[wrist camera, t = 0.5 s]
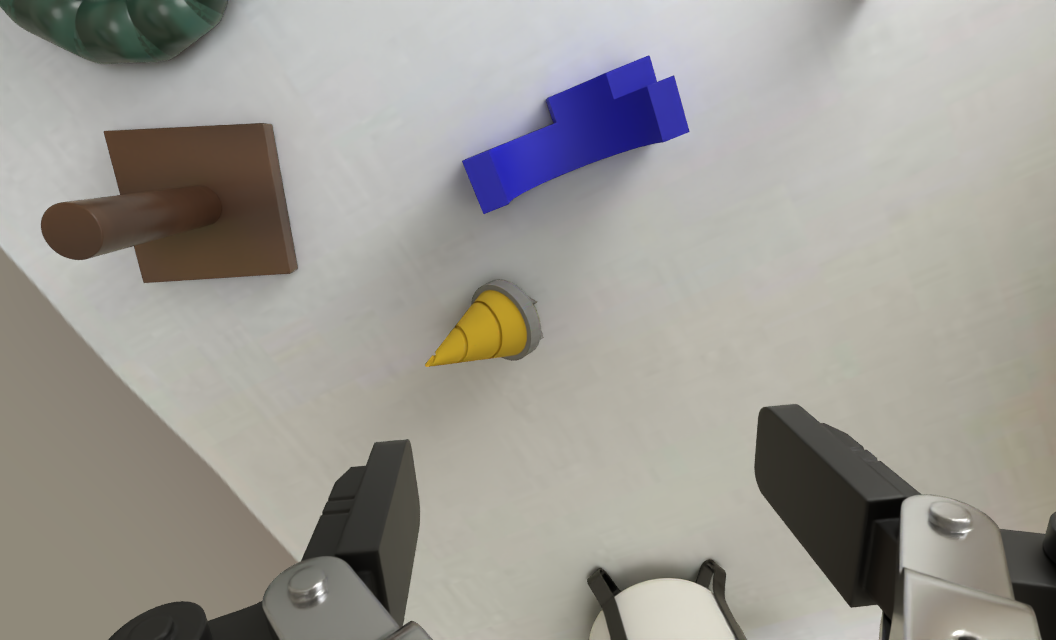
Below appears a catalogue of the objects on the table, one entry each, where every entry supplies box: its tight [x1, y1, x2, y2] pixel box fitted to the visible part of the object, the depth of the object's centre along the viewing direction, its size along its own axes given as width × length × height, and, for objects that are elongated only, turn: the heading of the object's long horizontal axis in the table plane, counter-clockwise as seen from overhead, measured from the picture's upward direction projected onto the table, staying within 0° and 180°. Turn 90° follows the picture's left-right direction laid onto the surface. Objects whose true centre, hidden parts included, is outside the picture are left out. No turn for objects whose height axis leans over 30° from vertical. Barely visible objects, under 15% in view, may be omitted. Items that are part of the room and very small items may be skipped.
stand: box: [41, 123, 298, 283], centre depth 29 cm, size 9×9×12 cm
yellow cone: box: [425, 280, 544, 367], centre depth 35 cm, size 5×5×10 cm
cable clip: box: [462, 56, 689, 214], centre depth 32 cm, size 12×4×6 cm, turn 111°
